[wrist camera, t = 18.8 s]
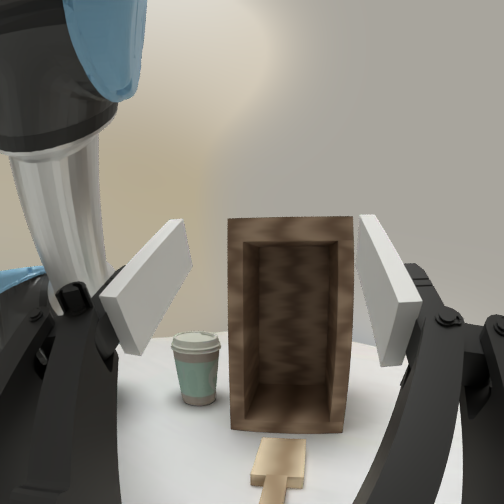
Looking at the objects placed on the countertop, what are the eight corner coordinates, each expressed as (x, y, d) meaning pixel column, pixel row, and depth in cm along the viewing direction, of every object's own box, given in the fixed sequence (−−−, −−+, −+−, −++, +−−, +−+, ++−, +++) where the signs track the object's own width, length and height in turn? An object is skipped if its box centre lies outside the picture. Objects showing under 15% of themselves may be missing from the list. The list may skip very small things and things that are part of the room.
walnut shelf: (230, 429, 37) (227, 207, 38) (250, 387, 53) (249, 222, 54) (342, 432, 35) (352, 204, 36) (333, 389, 50) (337, 221, 51)
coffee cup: (218, 411, 43) (215, 343, 43) (169, 406, 44) (163, 340, 44) (226, 390, 52) (224, 331, 52) (182, 387, 52) (179, 329, 52)
